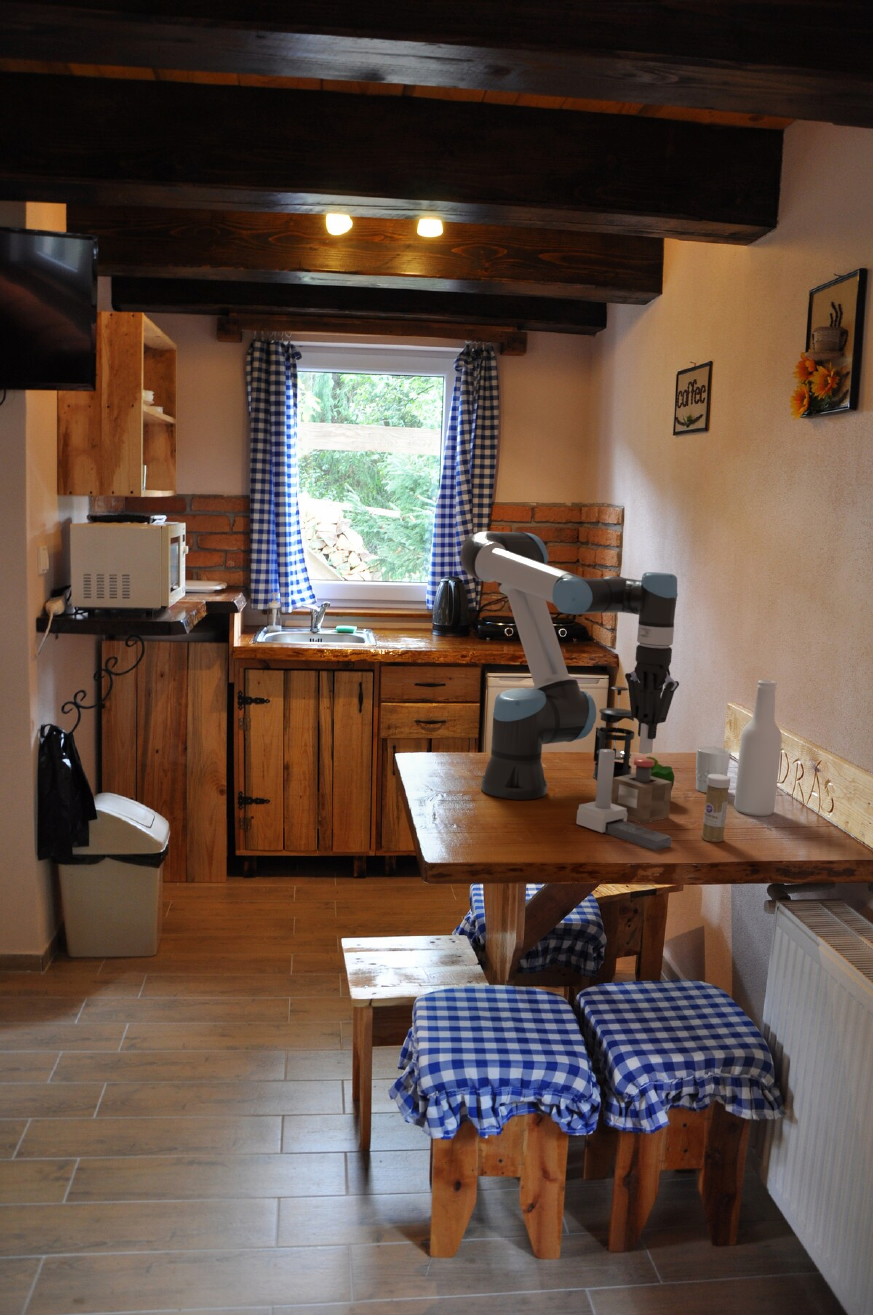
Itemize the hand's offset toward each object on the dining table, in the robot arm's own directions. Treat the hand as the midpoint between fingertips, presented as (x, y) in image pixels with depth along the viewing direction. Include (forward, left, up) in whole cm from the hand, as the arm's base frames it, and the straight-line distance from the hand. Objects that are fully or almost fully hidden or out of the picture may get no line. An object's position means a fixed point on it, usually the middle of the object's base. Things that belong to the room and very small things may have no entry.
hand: (645, 752), depth 233 cm
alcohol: (+12, +26, -14) cm, 32 cm away
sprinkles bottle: (+19, 0, -14) cm, 24 cm away
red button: (0, 0, -10) cm, 10 cm away
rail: (+7, -14, -14) cm, 21 cm away
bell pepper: (-6, +13, -14) cm, 20 cm away
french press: (-24, +19, -14) cm, 34 cm away
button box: (0, 0, -14) cm, 14 cm away
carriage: (+1, -14, -14) cm, 20 cm away
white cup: (-4, +32, -14) cm, 35 cm away
